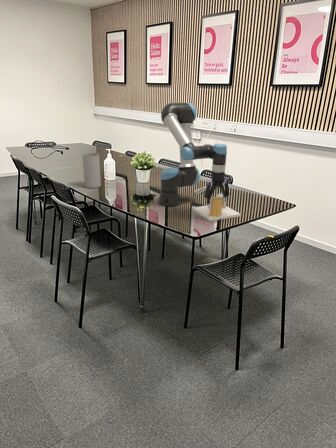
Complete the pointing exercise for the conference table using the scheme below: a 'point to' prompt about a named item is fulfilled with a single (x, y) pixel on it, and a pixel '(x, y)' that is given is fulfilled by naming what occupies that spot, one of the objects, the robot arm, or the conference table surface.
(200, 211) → the plate
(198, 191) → the wrench
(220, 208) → the wire cap
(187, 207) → the conference table surface
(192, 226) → the conference table surface
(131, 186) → the conference table surface
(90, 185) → the cylinder vase
